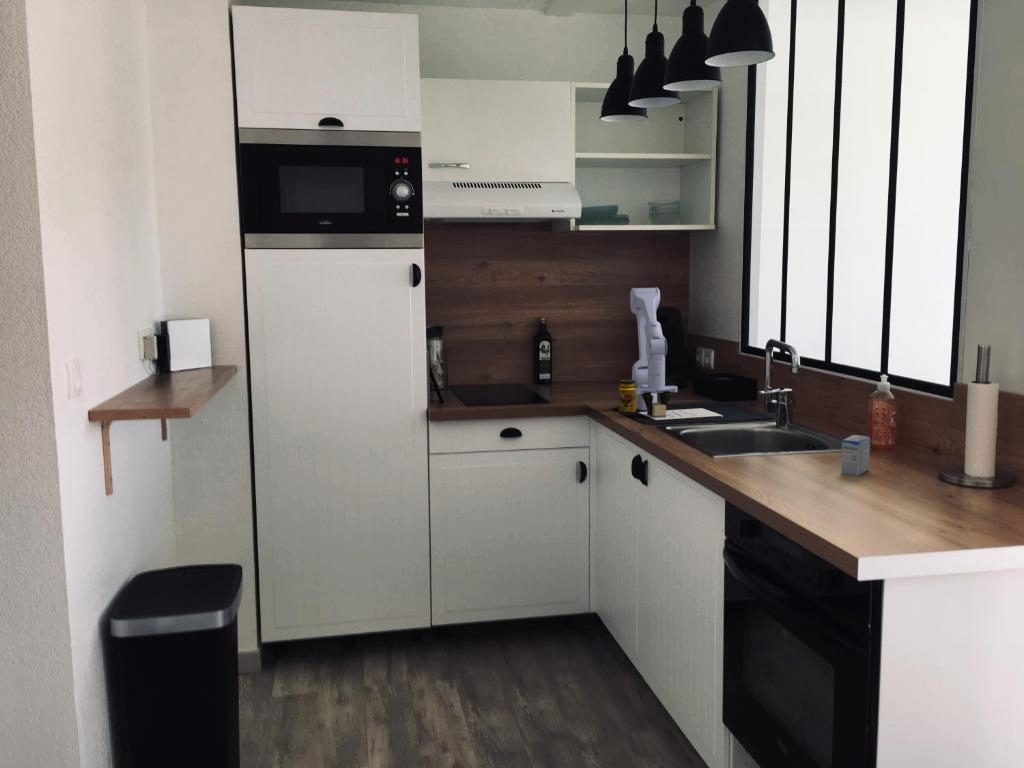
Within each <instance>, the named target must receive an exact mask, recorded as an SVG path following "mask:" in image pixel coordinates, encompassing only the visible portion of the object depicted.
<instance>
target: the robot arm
mask: <svg viewBox="0 0 1024 768" xmlns="http://www.w3.org/2000/svg"><path fill="white" fill-rule="evenodd" d="M629 295H630V297H629V299H630V310H631V313H632V314H635V317H636V321H637V335H638V336H637V338H638V351H639V354H638V355H639V357H638V358H639V359H638V360H637V361H636V362H635V363H634V364H633V366H632V371H631V372H632V373H631V380H634V381H635V386H634V387H635V394H636V410H639V411H640V410H641V411H646V412H647V411H648V414H649V415H652V403H657V402H658V394H659V399H660V400H659V401H660V402H659V403H661V404H663V405H666V408H667V406H668V404H669V401H670V400H671V398H672V393H678V386H676V385H666V356H667V353H668V343H667V339H666V338H665V336H664V334H663V330H662V326H661V325H662V324H661V323H660V322H659V321H657V309H658V308H659V305H660V301H661V291H660V289H659V288H658V287H657V286H656V287H639V288H638V287H637V288H636V287H631V290H630V294H629Z"/></svg>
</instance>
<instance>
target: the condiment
mask: <svg viewBox="0 0 1024 768" xmlns="http://www.w3.org/2000/svg"><path fill="white" fill-rule="evenodd" d="M635 388H636V386H635V381H634V380H632V379H621V380H619V388H618V411H619V412H621V413H622V412H624V413H634V412H637V408H636V394H635Z"/></svg>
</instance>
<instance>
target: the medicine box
mask: <svg viewBox="0 0 1024 768" xmlns="http://www.w3.org/2000/svg"><path fill="white" fill-rule="evenodd" d="M870 451H871V437H869V436H865V435H860V434H859V435H858V434H852V435H850V436H848V437H846V438H844V439H842V440H841V465H840V466H841V467H840V470H841V471H840V473H841V474H842V475H846V476H847V475H848V476H853V477H854V476H855V477H858V476H861V475H862V474H863V473H865V472H867V471H869V470H870V457H871V456H870V455H871V454H870V453H871V452H870Z"/></svg>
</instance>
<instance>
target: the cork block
mask: <svg viewBox="0 0 1024 768" xmlns="http://www.w3.org/2000/svg"><path fill="white" fill-rule="evenodd" d="M666 411H667V407H666V405H663V404H661V403H660V402H658V401H657V403H652V415H649V414H648V411H647V410H646V412H647V415H649V416H651V417H654V418H662V417H666Z"/></svg>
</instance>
